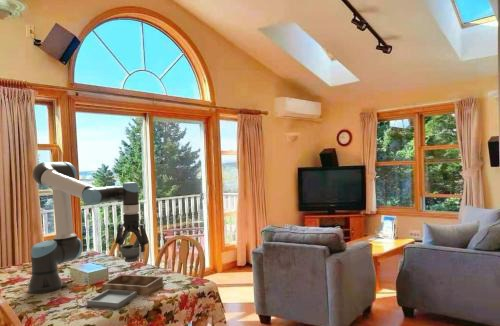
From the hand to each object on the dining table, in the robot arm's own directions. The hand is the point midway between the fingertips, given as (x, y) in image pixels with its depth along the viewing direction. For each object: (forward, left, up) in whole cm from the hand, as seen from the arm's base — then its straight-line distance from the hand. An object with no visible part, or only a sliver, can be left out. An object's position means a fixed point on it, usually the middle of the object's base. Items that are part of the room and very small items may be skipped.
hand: (132, 257), depth 195 cm
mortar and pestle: (0, 0, -1) cm, 1 cm away
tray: (0, -17, -16) cm, 23 cm away
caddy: (0, 0, -16) cm, 16 cm away
